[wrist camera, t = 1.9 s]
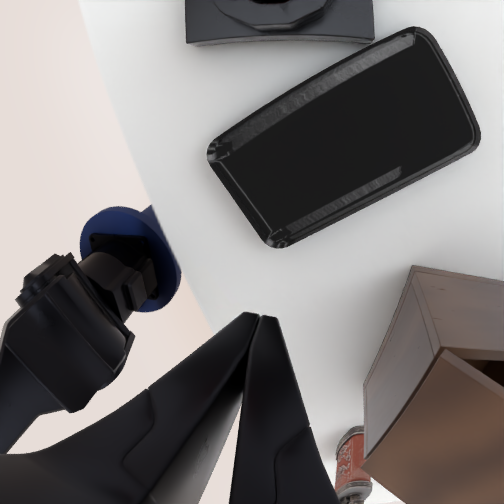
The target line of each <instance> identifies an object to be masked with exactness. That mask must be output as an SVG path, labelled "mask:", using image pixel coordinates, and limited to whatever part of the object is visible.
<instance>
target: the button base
mask: <svg viewBox="0 0 504 504" xmlns="http://www.w3.org/2000/svg"><path fill="white" fill-rule="evenodd" d="M185 22H186V43H187V44H191V45H195V46H204V45H213V44H222V43H233V42H246V41H264V40H325V41H343V42H356V43H367V44H370V43H371V42H372V41H373V40H374V39H375V36H374V16H373V1H372V0H185Z"/></svg>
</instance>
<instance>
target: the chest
mask: <svg viewBox="0 0 504 504" xmlns="http://www.w3.org/2000/svg"><path fill="white" fill-rule="evenodd" d="M445 349H447V350H448V351H450V352H451V353H453V354H454V355H456V356H457V357H459V358H460V359H462V360H463V361H465V362H466V363H468V364H469V365H471V366H472V367H474V368H475V369H477V370H478V371H480V372H481V373H483V374H484V375H486V376H487V377H489V378H490V379H492V380H493V381H495V382H496V383H498V384H499V385H501V386H502V387H504V281H499V280H493V279H488V278H482V277H477V276H471V275H465V274H460V273H454V272H448V271H443V270H437V269H431V268H425V267H419V266H414V265H413V266H412V268H411V271H410V274H409V277H408V280H407V282H406V285H405V288H404V291H403V293H402V296H401V299H400V301H399V304H398V307H397V309H396V312H395V314H394V317H393V319H392V322H391V324H390V327H389V329H388V331H387V334H386V336H385V339H384V341H383V343H382V345H381V348H380V350H379V352H378V355H377V357H376V359H375V361H374V363H373V365H372V368H371V370H370V372H369V374H368V376H367V378H366V380H365V382H364V384H363V390H364V459H365V460H367V459H368V458H369V457H370V455H371V454H372V453H373V452H374V451H375V449H376V448H377V447H378V446H379V444H380V443H381V442H382V441H383V439H384V438H385V437H386V435H387V434H388V433H389V432H390V430H391V429H392V428H393V426H394V425H395V424H396V422H397V421H398V419H399V418H400V417H401V415H402V414H403V413H404V411H405V410H406V408H407V407H408V405H409V404H410V403H411V401H412V400H413V398H414V397H415V395H416V394H417V392H418V391H419V389H420V388H421V386H422V384H423V383H424V381H425V380H426V378H427V377H428V375H429V373H430V372H431V370H432V368H433V367H434V365H435V363H436V362H437V360H438V358H439V357H440V355H441V354H442V353H443V351H444V350H445Z"/></svg>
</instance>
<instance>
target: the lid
mask: <svg viewBox="0 0 504 504" xmlns="http://www.w3.org/2000/svg"><path fill="white" fill-rule="evenodd" d="M360 468H361V469H362V470H363V471H365V472H366V473H367V474H368V475H369V476H371V477H372V478H373V479H374V480H376V481H377V482H378V483H379V484H381V485H382V486H383V487H385V488H386V489H387V490H388V491H390V492H391V493H392V494H394V495H395V496H396V497H398V498H399V499H400V500H402V501H403V502H405V503H406V504H504V387H502V386H501V385H499V384H498V383H496V382H495V381H493V380H492V379H490V378H489V377H487V376H486V375H484V374H483V373H481V372H480V371H478V370H477V369H475V368H474V367H472V366H471V365H469V364H468V363H466V362H465V361H463V360H462V359H460V358H459V357H457V356H456V355H454V354H453V353H451V352H450V351H448V350H447V349H445V350H444V351H443V353H442V354H441V355H440V357H439V358H438V360H437V362H436V363H435V365H434V367H433V368H432V370H431V372H430V373H429V375H428V377H427V378H426V380H425V381H424V383H423V384H422V386H421V388H420V389H419V391H418V392H417V394H416V395H415V397H414V398H413V400H412V401H411V403H410V404H409V405H408V407H407V408H406V410H405V411H404V413H403V414H402V415H401V417H400V418H399V419H398V421H397V422H396V424H395V425H394V426H393V428H392V429H391V430H390V432H389V433H388V434H387V435H386V437H385V438H384V439H383V441H382V442H381V443H380V444H379V446H378V447H377V448H376V449H375V451H374V452H373V453H372V454H371V455H370V457H369V458H368V459H367V460H366V461H365V463H364V464H363V465H362V466H361V467H360Z"/></svg>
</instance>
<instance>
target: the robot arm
mask: <svg viewBox="0 0 504 504" xmlns="http://www.w3.org/2000/svg"><path fill="white" fill-rule="evenodd" d="M94 239H95V240H94ZM141 241H143V243H142V242H141ZM89 242H90V245H91V249H92V252H90V253H89V254H88V255H87V256H86V257H85V258H83V259H82V260H81V261H80V262H79V263H78V264H77V262H76V261H75V260H74V256H73V255H72V253H71V252H70V253H68V254H67V255H66V256H65V257H64V255H62V256H59V255H57V254H54V255H52V256H51V257H50V258H49V259H47V260H46V261H45V262H43V263H42V264H41V265H40V266H38V267H37V268H35V269H34V270H33V271H31V272H30V273H29V274H27V275H26V276H25V277H24V282H23V289H22V290H20V292H21V295H19V296H18V297H17V298H16V299H15V300H16V302H17V303H18V304H19V306H20V309H18V310H17V311H16V312H15V313H14V314H13V315H12V316H11V317H10V318H9V319H8V320H7V321H6V322H5V324H4V326H3V330H2V334H1V338H0V504H198V503H199V501H200V499H201V496H202V494H203V492H204V490H205V488H206V485H207V483H208V481H209V479H210V476H211V474H212V472H213V470H214V467H215V465H216V463H217V461H218V458H219V456H220V453H221V451H222V449H223V446H224V444H225V442H226V440H227V437H228V435H229V432H230V430H231V428H232V425H233V423H234V420H235V418H236V416H237V413H238V411H239V408H240V406H241V403H242V406H241V414H240V421H239V430H238V438H237V445H236V454H235V460H234V468H233V477H232V484H231V492H230V498H229V504H341V502H340V500H339V498H338V496H337V494H336V492H335V490H334V488H333V486H332V484H331V481H330V479H329V477H328V474H327V472H326V470H325V467H324V465H323V463H322V460H321V457H320V454H319V451H318V448H317V445H316V443H315V439H314V436H313V433H312V429H311V427H309V425H310V423H309V420H308V417H307V413H306V410H305V407H304V403H303V400H302V397H301V393H300V390H299V387H298V383H297V380H296V377H295V373H294V370H293V367H292V363H291V360H290V357H289V354H288V350H287V347H286V344H285V340H284V337H283V334H282V330H281V327H280V324H279V321H278V319H277V318H276V317H272V316H267V315H262V316H261V317H260V315H259V314H256V313H250V312H243V313H241V314H240V315H239V316H238V317H236V318H235V319H234V320H233V321H232V322H230V323H229V324H228V325H227V326H225V327H224V328H223V329H222V330H220V331H219V332H218V333H217V334H216V335H214V336H213V337H212V338H211V339H209V340H208V341H207V342H206V343H204V344H203V345H202V346H201V347H199V348H198V349H197V350H195V351H194V352H193V353H192V354H190V355H189V356H188V357H187V358H185V359H184V360H183V361H181V362H180V363H179V364H178V365H176V366H175V367H174V368H172V369H171V370H170V371H169V372H167V373H166V374H165V375H163V376H162V377H161V378H160V379H158V380H157V381H156V382H154V383H153V384H152V385H150V386H149V387H148V389H145V390H144V391H142V392H141V393H140V394H138V395H137V396H136V397H134V398H133V399H132V400H130V401H129V402H127V403H126V404H124V405H123V406H121V407H120V408H119V409H117V410H116V411H114V412H112V413H111V414H109V415H107V416H106V417H104V418H102V419H101V420H99V421H97V422H96V423H94V424H92V425H90V426H88V427H86V428H85V429H83V430H81V431H79V432H77V433H75V434H74V435H72V436H70V437H68V438H66V439H64V440H62V441H60V442H58V443H56V444H54V445H52V446H50V447H48V448H46V449H43V450H40V451H36V452H32V453H26V454H7V452H8V451H9V450H10V449H11V448H12V446H13V445H14V444H15V443H16V442H17V440H18V439H19V438H20V437H21V436H22V434H23V433H24V432H25V431H26V430H27V429H28V427H29V426H30V425H31V424H32V423H33V421H34V420H35V419H36V418H37V417H38V416H40V415H43V414H48V413H52V412H57V411H61V410H66V411H68V412H69V413H74V412H77V411H79V410H82V409H84V408H85V406H86V405H87V404H88V402H89V401H90V400H91V398H92V397H93V396H94V394H95V393H96V392H97V391H99V390H101V389H103V388H105V387H106V386H108V385H109V384H110V383H111V382H113V381H114V380H115V379H116V378H117V376H118V375H119V374H120V372H121V371H122V369H123V367H124V365H125V363H126V360H127V357H128V354H129V352H130V349H131V346H132V344H133V341H134V338H135V335H134V334H133V333H132V332H131V331H129V330H128V328H127V327H126V326H125V325H124V323H125V321H126V320H127V319H128V318H129V316H130V315H131V314H132V312H133V311H137V310H138V309H139V308H140V307H141V306H142V304H143V303H144V302H145V300H146V299H149V300H157V298H158V297H159V291H158V287H157V285H158V283H157V278H156V274H155V269H154V264H153V261H152V258H151V253H150V248H149V243H148V239H147V238H146V237H145V236H140V235H123V234H106V233H92V234H91V235H90V236H89ZM153 294H154V295H155V296H154V295H153Z"/></svg>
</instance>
